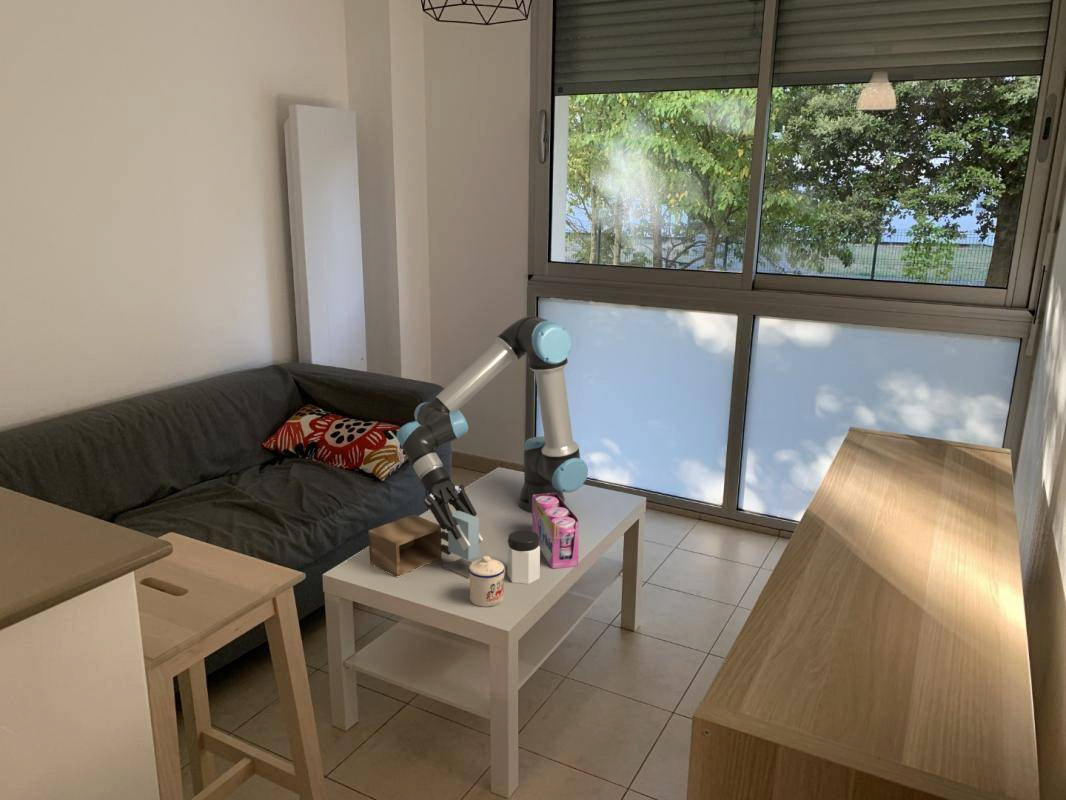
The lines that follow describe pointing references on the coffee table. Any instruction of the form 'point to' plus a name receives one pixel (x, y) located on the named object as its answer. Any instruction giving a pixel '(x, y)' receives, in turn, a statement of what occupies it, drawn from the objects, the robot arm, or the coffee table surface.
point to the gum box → (555, 530)
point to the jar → (523, 557)
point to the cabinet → (410, 546)
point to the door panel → (471, 532)
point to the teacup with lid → (486, 582)
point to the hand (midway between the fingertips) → (473, 545)
